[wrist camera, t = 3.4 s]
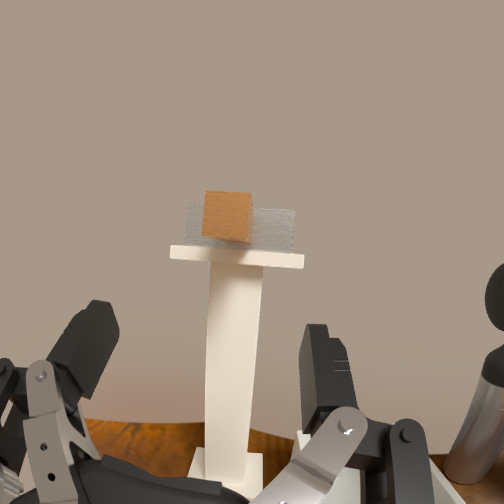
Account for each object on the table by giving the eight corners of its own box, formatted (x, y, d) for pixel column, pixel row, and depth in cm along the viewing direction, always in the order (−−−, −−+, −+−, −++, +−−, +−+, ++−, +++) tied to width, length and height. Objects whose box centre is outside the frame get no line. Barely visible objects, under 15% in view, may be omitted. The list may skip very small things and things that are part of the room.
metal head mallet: (285, 253, 32) (288, 217, 32) (312, 256, 16) (316, 186, 16) (197, 246, 32) (200, 211, 32) (141, 243, 16) (148, 178, 16)
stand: (267, 460, 34) (292, 253, 34) (269, 504, 24) (305, 255, 24) (190, 452, 35) (194, 246, 35) (176, 494, 25) (169, 244, 25)
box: (380, 469, 30) (400, 421, 29) (424, 551, 11) (467, 505, 10) (286, 479, 30) (296, 430, 30) (296, 582, 11) (319, 549, 11)
